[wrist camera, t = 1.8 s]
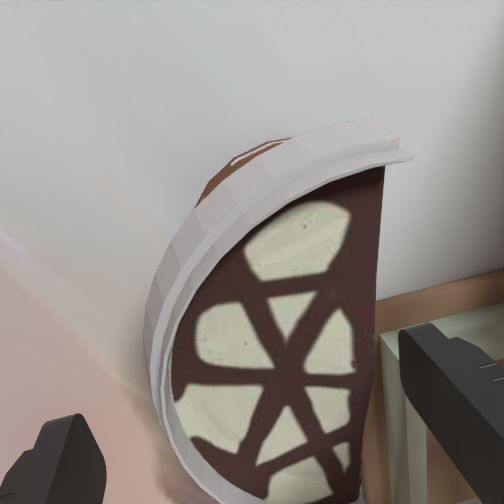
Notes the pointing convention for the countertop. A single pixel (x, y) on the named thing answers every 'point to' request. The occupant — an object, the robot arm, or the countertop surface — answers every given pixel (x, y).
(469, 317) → the holder
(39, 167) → the countertop surface
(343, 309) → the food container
